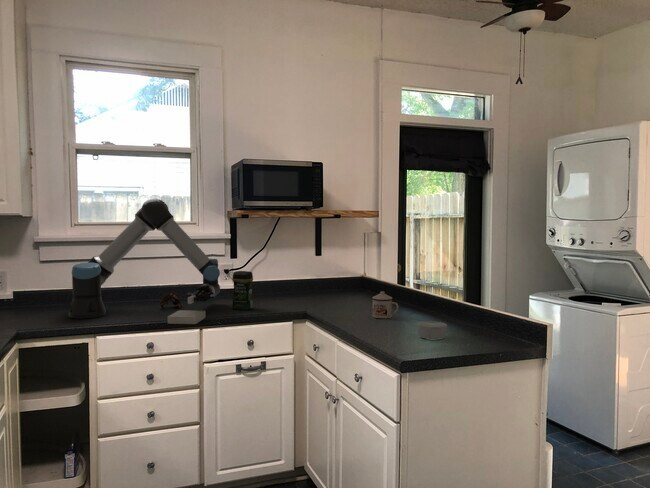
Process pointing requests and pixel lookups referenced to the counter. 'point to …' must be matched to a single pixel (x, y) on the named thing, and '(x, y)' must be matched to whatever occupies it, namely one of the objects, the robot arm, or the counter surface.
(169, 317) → the picture frame
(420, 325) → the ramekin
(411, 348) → the counter surface
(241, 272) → the coffee jar
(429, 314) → the counter surface
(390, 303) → the teacup with lid
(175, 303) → the dark brown irregular piece
